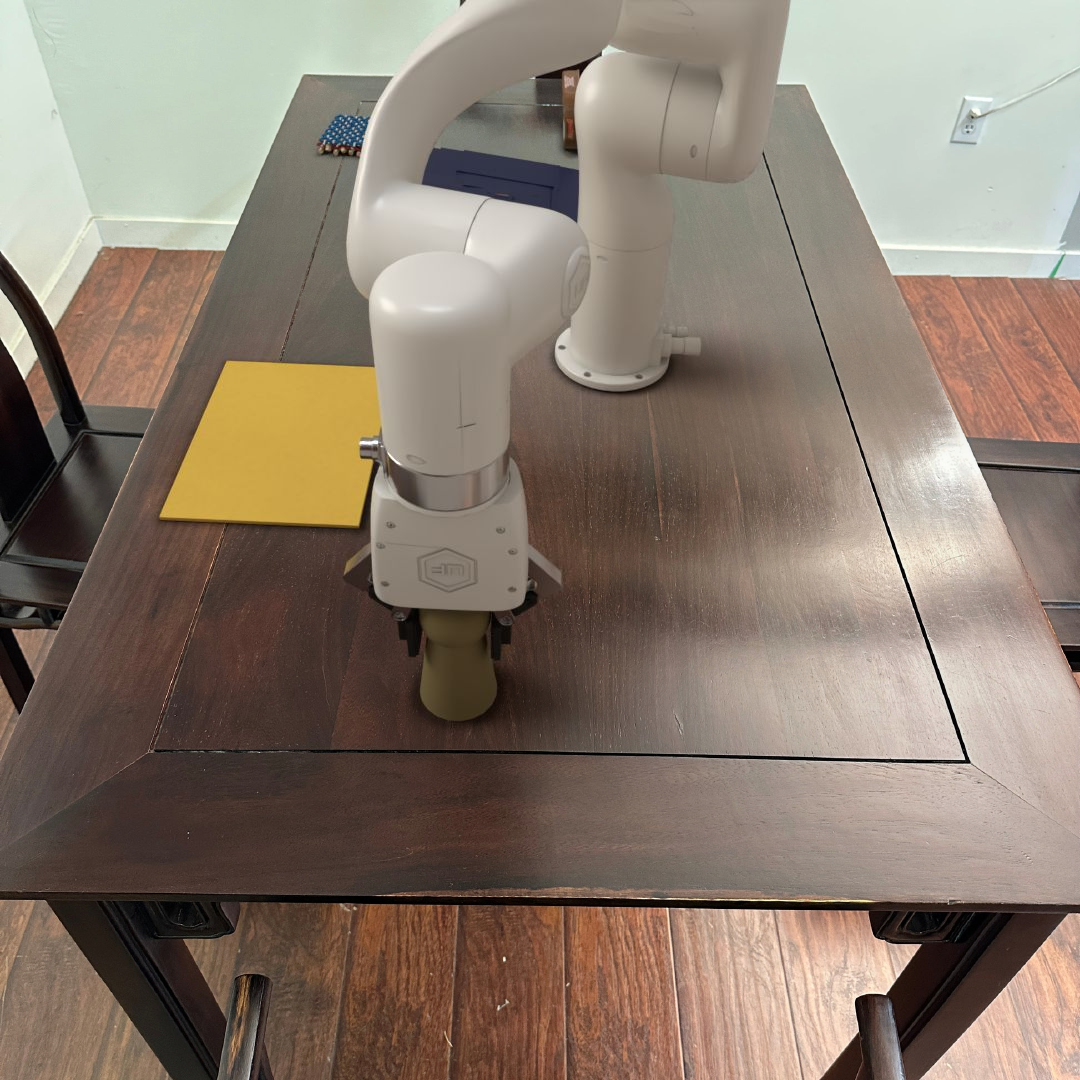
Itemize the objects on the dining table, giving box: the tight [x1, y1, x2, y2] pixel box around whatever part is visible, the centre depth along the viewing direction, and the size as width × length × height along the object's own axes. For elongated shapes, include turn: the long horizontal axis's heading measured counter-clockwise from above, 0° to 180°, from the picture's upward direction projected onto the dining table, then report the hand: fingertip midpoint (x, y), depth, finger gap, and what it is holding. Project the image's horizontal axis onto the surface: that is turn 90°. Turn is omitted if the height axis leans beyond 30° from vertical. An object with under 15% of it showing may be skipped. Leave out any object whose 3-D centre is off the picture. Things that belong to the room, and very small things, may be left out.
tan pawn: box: [418, 608, 498, 722], centre depth 71 cm, size 6×6×11 cm
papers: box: [422, 147, 579, 223], centre depth 128 cm, size 24×30×4 cm
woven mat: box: [316, 113, 371, 158], centre depth 142 cm, size 10×11×2 cm
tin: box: [561, 69, 580, 150], centre depth 143 cm, size 15×3×8 cm, turn 179°
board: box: [158, 360, 382, 529], centre depth 95 cm, size 18×24×1 cm
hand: (456, 642), depth 71 cm, fingers open, 5 cm apart
